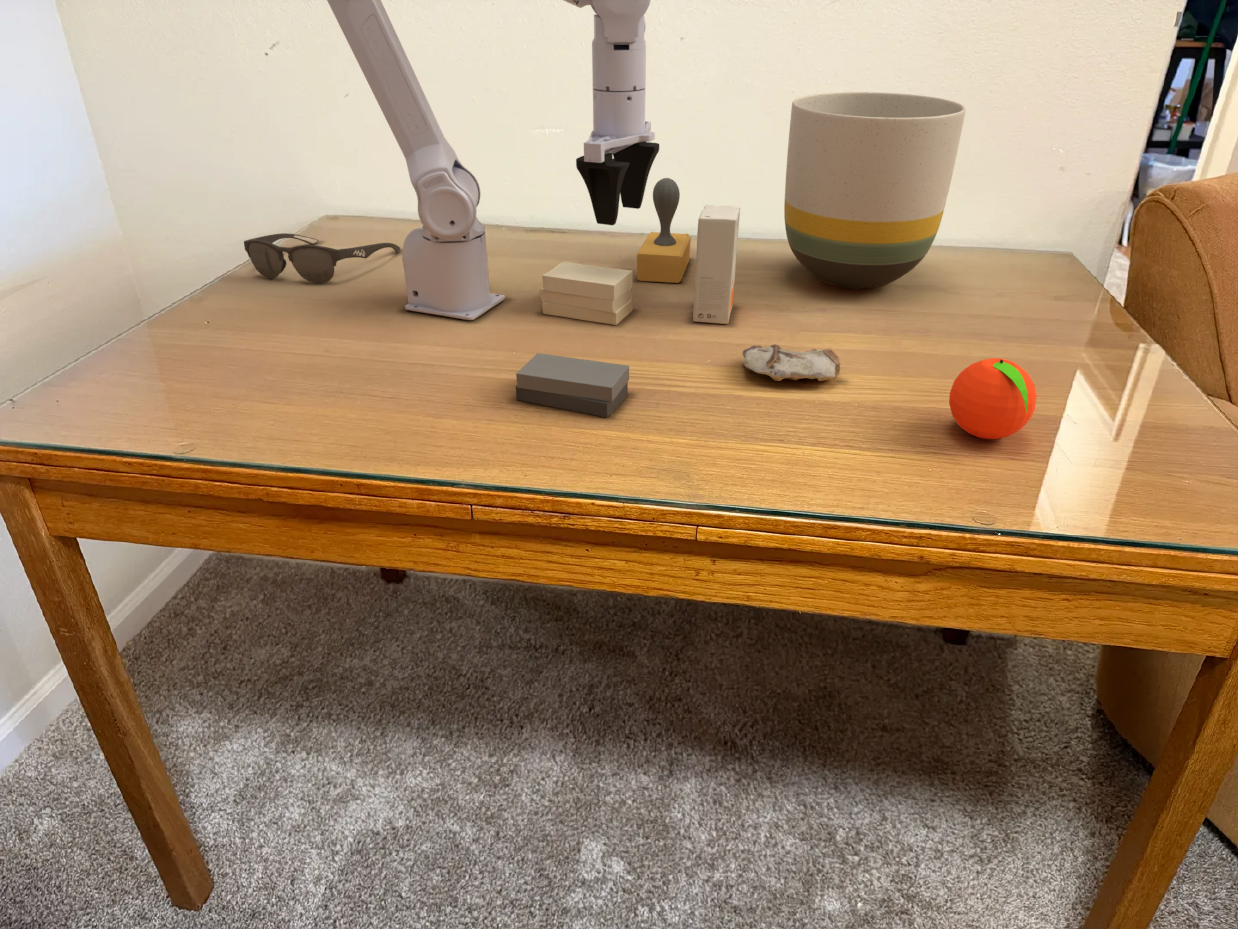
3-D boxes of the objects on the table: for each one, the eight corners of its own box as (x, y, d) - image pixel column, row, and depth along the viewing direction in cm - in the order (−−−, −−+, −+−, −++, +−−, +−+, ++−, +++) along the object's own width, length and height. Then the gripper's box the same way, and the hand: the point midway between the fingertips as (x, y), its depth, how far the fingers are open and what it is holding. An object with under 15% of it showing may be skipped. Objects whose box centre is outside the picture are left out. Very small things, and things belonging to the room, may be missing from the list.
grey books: (514, 401, 81) (512, 372, 79) (541, 377, 85) (540, 350, 83) (609, 420, 77) (609, 390, 76) (632, 394, 82) (632, 366, 80)
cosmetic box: (729, 325, 97) (736, 220, 90) (692, 322, 97) (696, 217, 91) (733, 306, 102) (741, 205, 96) (698, 304, 103) (703, 203, 96)
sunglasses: (233, 276, 111) (227, 238, 109) (311, 253, 126) (306, 219, 124) (343, 288, 107) (339, 248, 105) (410, 263, 122) (407, 228, 120)
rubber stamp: (680, 283, 109) (683, 188, 103) (636, 280, 110) (637, 186, 104) (690, 260, 117) (693, 170, 111) (648, 257, 118) (650, 168, 112)
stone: (742, 388, 83) (744, 363, 81) (740, 357, 89) (742, 333, 88) (841, 392, 82) (845, 367, 81) (833, 360, 88) (836, 337, 87)
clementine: (1050, 455, 72) (1073, 379, 68) (976, 464, 70) (996, 387, 67) (995, 412, 78) (1014, 340, 75) (927, 419, 77) (942, 347, 73)
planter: (866, 320, 98) (897, 124, 87) (744, 277, 111) (757, 102, 100) (961, 284, 108) (1000, 105, 97) (839, 249, 121) (861, 87, 110)
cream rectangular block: (542, 290, 98) (542, 275, 97) (563, 275, 102) (563, 261, 102) (614, 300, 95) (614, 285, 94) (632, 285, 99) (632, 270, 99)
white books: (539, 314, 100) (537, 289, 98) (559, 299, 104) (558, 275, 103) (615, 326, 97) (615, 301, 95) (633, 310, 101) (633, 285, 99)
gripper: (627, 99, 84) (627, 235, 91) (676, 81, 96) (672, 203, 103) (564, 95, 86) (568, 228, 94) (619, 78, 98) (619, 198, 105)
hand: (619, 215), depth 98 cm, fingers open, 7 cm apart
